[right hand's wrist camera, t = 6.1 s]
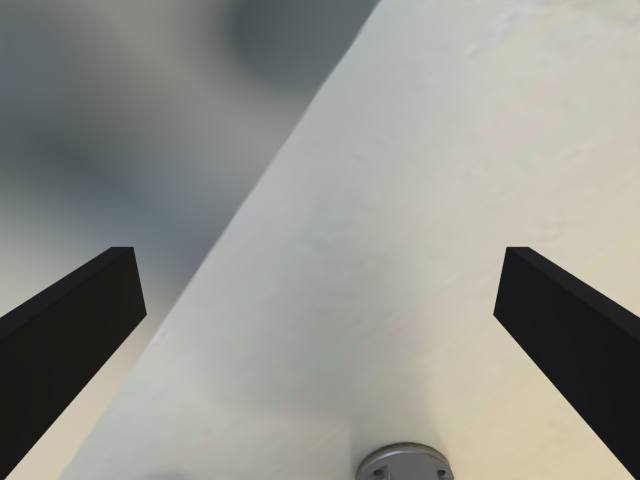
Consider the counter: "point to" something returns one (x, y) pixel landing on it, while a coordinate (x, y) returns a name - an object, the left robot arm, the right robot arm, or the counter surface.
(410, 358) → the counter surface
